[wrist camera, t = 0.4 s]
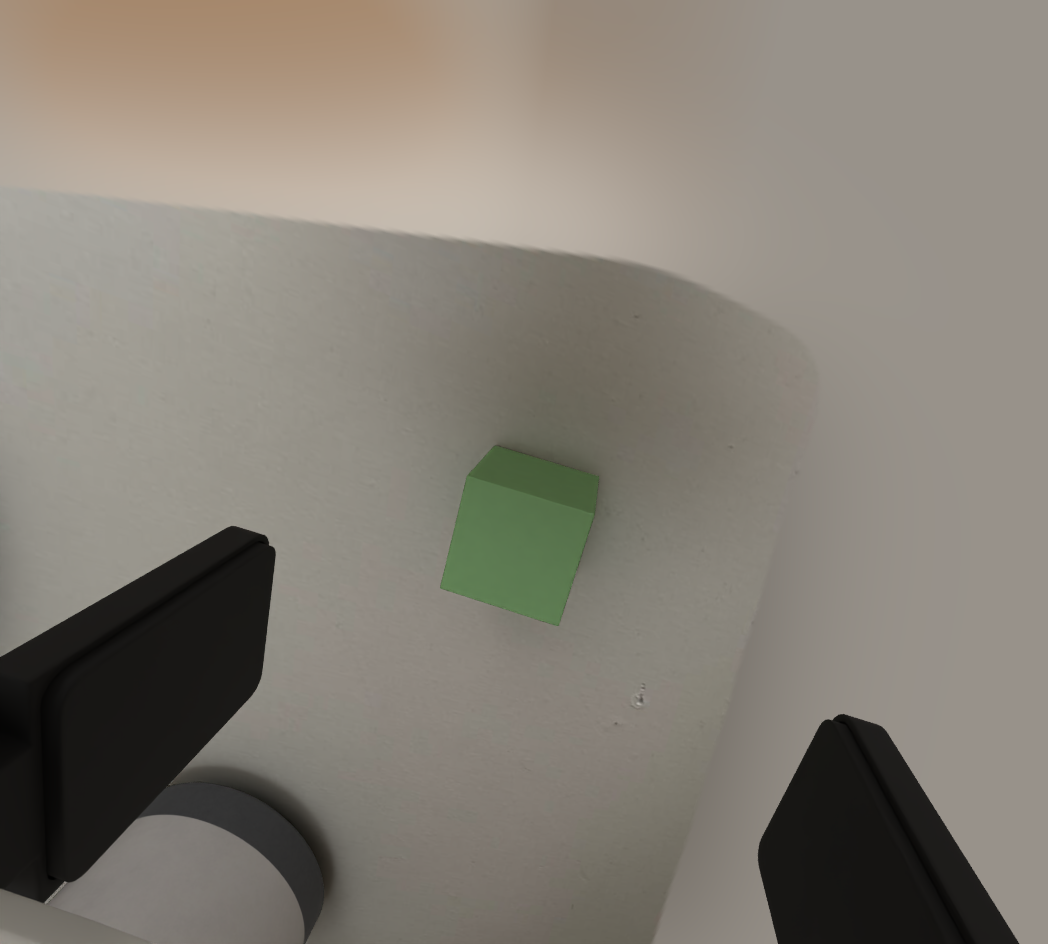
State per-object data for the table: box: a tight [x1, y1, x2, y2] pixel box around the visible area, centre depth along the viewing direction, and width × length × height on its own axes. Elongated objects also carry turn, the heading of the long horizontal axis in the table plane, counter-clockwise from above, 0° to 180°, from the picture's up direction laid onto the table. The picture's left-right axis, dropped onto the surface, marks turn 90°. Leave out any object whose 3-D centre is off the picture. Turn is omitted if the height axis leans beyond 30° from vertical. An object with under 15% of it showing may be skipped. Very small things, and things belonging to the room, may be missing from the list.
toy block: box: [440, 445, 599, 626], centre depth 24 cm, size 5×5×5 cm
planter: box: [47, 783, 324, 944], centre depth 31 cm, size 13×13×10 cm
